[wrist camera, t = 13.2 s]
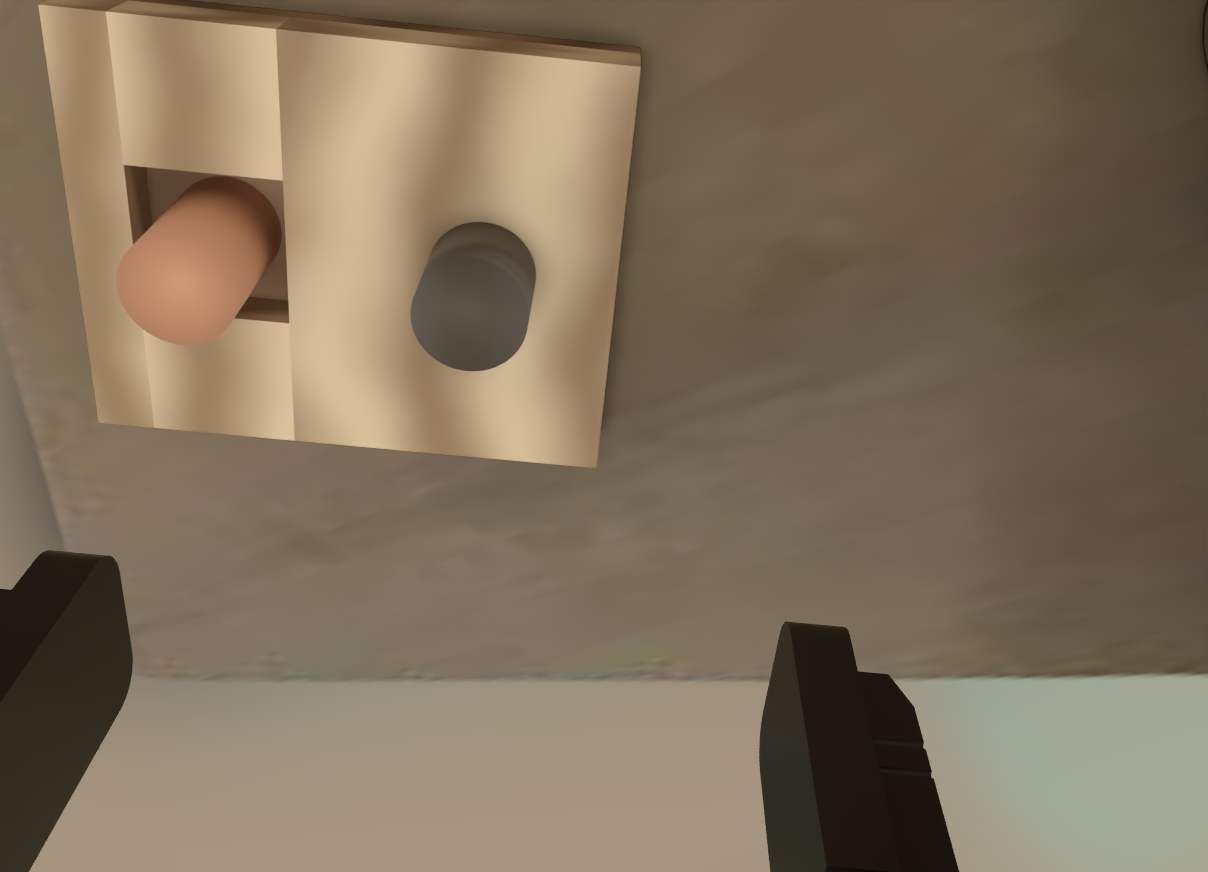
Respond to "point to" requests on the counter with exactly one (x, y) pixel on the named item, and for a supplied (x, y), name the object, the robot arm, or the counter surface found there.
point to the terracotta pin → (199, 261)
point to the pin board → (356, 221)
